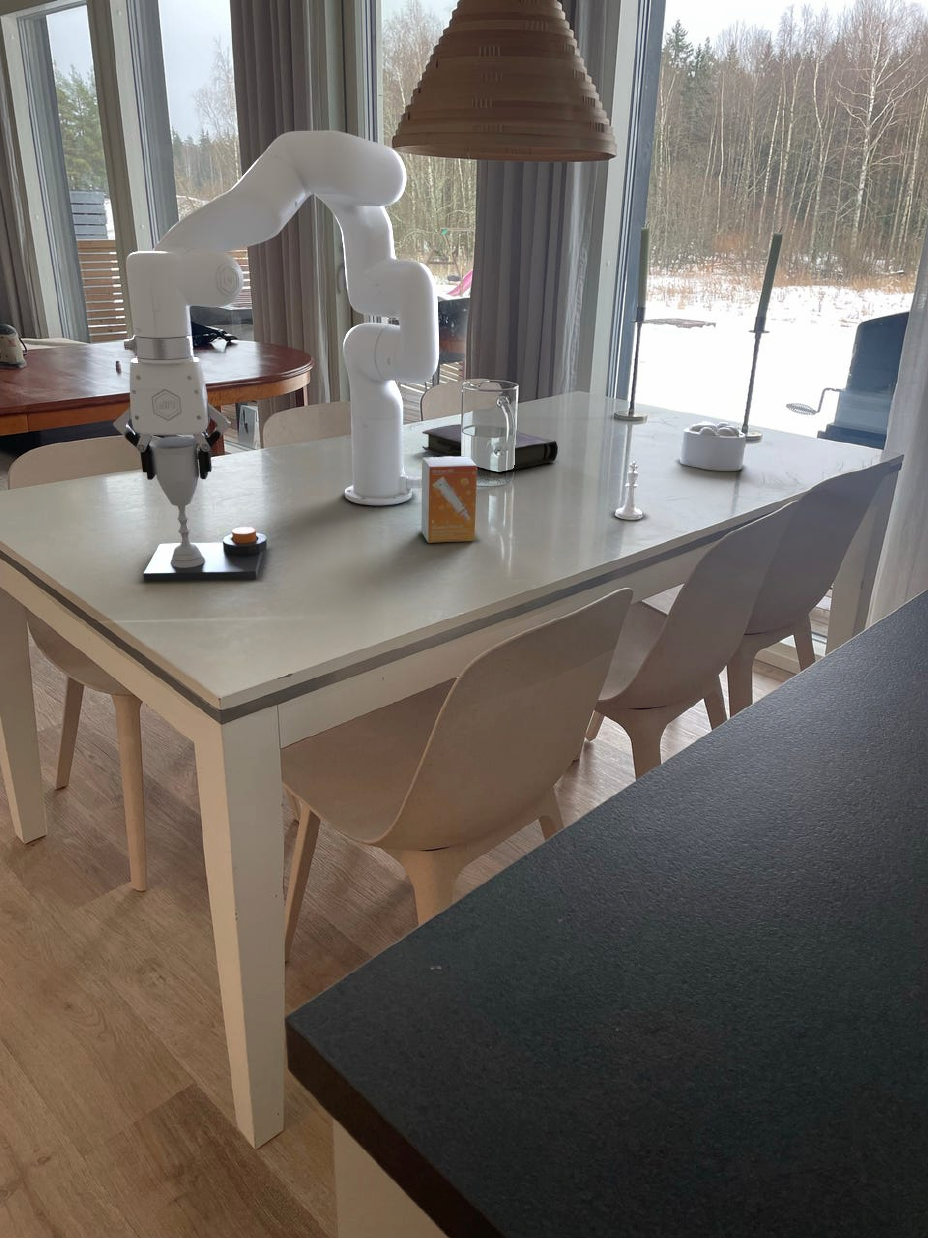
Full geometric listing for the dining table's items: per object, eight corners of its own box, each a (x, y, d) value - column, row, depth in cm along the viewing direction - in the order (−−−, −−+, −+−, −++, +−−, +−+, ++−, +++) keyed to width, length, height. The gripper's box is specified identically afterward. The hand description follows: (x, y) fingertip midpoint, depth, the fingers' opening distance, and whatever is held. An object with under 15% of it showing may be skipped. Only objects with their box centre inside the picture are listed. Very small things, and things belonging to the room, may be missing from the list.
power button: (257, 537, 146) (256, 526, 145) (255, 544, 143) (254, 533, 142) (234, 537, 146) (233, 526, 145) (231, 545, 142) (230, 534, 142)
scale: (268, 549, 149) (267, 531, 147) (261, 579, 137) (260, 560, 135) (161, 551, 147) (159, 533, 146) (144, 582, 135) (141, 563, 134)
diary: (480, 440, 221) (480, 419, 219) (557, 461, 204) (558, 438, 202) (419, 451, 209) (419, 429, 207) (496, 475, 192) (496, 451, 190)
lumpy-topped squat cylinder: (697, 454, 212) (702, 416, 209) (750, 465, 204) (756, 426, 201) (674, 462, 205) (679, 423, 202) (728, 474, 197) (734, 433, 194)
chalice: (197, 572, 135) (184, 450, 128) (154, 567, 136) (139, 446, 129) (219, 555, 142) (208, 438, 134) (178, 551, 143) (165, 435, 135)
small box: (427, 544, 152) (428, 466, 147) (420, 532, 158) (421, 456, 153) (475, 541, 154) (478, 464, 149) (467, 529, 160) (469, 454, 155)
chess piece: (625, 521, 166) (631, 466, 162) (609, 513, 170) (614, 459, 166) (647, 517, 168) (653, 463, 164) (631, 510, 172) (636, 457, 168)
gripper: (91, 352, 122) (109, 484, 129) (226, 353, 124) (236, 483, 131) (105, 344, 129) (121, 470, 136) (232, 345, 131) (242, 469, 138)
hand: (178, 475), depth 134 cm, fingers closed on chalice, 6 cm apart
